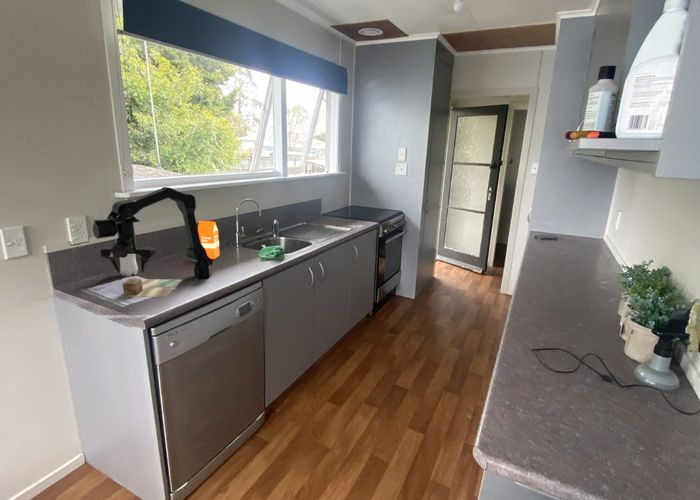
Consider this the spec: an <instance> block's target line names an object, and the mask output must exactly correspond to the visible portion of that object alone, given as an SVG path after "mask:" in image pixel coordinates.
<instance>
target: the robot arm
mask: <svg viewBox="0 0 700 500" xmlns="http://www.w3.org/2000/svg"><path fill="white" fill-rule="evenodd" d="M166 199H169V200H172V201H174V202H175V204H176V206H177V209H179V211H180V213H181V214H182V217H183V221H184V227H185V229H186V230H185V231H186V235H187V238H188V242H189V243H188V244H189V245H188V248H187V247H186V248H185V251H186V257H187V258H189V260H190V261H191V262H192V264H194V268H193V271H194V272H193V275H194V277H197V278H198V279H204V280H205V279H210V278H211V276H212V275H213V273H212V271H211V269H212V268H211V266H212V265H213V262H214V259H210V258H209V257H208V255H207V253H206V250H205V248H204V247H203V245H202V244H201V242H200V237H199V232H198V224H197V219H196V215H195V212H196V208H197V205H196V204H197V203H196V201H197V200H196V197H195V196H194V194H191V193H190V194H189V193H185V192H182V191H178V190H176V189H173V187H168V186H163V187H161V188H160V189H157V190H154V191H152V192H149V193H147V194H144V195H142V196H139V197H136V198H132V199H124V200H119V201H116V202H114V203H113V204H112V207H111V211H110V212H109V215H108V216H107V217H106V219H94V220H93V224H92V233H93V236H94V237H95V239H98V240H99V239H105V238H110V237H116V235H117V236H118V238H117V237H116V238H117V240H116V239H115V242H116V243H115V244H114V245H113V246H112V245H110V246H106V247H105V246H104V247H103V248H101V249H100V250H99V256H100V257H101V258H104V259H107V260H108V261H110V262H111V264H112V265H113V267H114V268H115V270H116V272H117V273H121V272H120V257H121V258H125V257H127V255H128V254H135V255H139V256H140V257H139V260H140V267H141V268H140V269H141V272H142V273H145V271H146V269H147V265H148V262H149V260H150V258H152V257H153V256H155V255H156V254H157V249H156V248H155V246H144V247H142V248H139V246H138V244H137V240H136V239H137V238H138V236H137V235H136V232H135V225H134V223H140V220H139V218H136V216H135V215H136V214H138V213H139V212H140V211H141V210H143V209H144V208H146V207H149V206H151V205H154V204H156V203H159V202H161V201H163V200H166ZM133 251H134V252H133Z"/></svg>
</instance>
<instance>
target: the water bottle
mask: <svg viewBox="0 0 700 500" xmlns="http://www.w3.org/2000/svg"><path fill="white" fill-rule="evenodd" d="M117 238H118V235H117V236H116V238H115V241H116V240H117ZM133 252H134V251H133ZM136 260H137V259H136V254H128V255H127V257H125V258H121V257H120V272H119V273H120V274H121V275H122V277H132V275H133V276H136V275H137V273H138V272H139V271H138V270H139V268H138V264H137V261H136Z"/></svg>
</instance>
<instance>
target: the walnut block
mask: <svg viewBox="0 0 700 500" xmlns="http://www.w3.org/2000/svg"><path fill="white" fill-rule="evenodd" d="M141 279H142V278H141ZM141 279H140V278H139V279H138V278H130V279H129V278H128V279H127V280H126V281H123V282H122V290H123V293H124V295H138V294H139V293H141V292H142V291H143V288H142V280H141Z"/></svg>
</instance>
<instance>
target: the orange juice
mask: <svg viewBox="0 0 700 500" xmlns="http://www.w3.org/2000/svg"><path fill="white" fill-rule="evenodd" d="M197 228H198V232H199V237H200V242H201V244H202V245H203V247H204V248H205V250H206V253H207V255H208V257H209V258H210V259H212V260H216V258H218V257H219V256H220V240H219V229H218V226H217V224H216V221H208V220H207V221H206V220H199V222H198V225H197Z"/></svg>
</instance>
